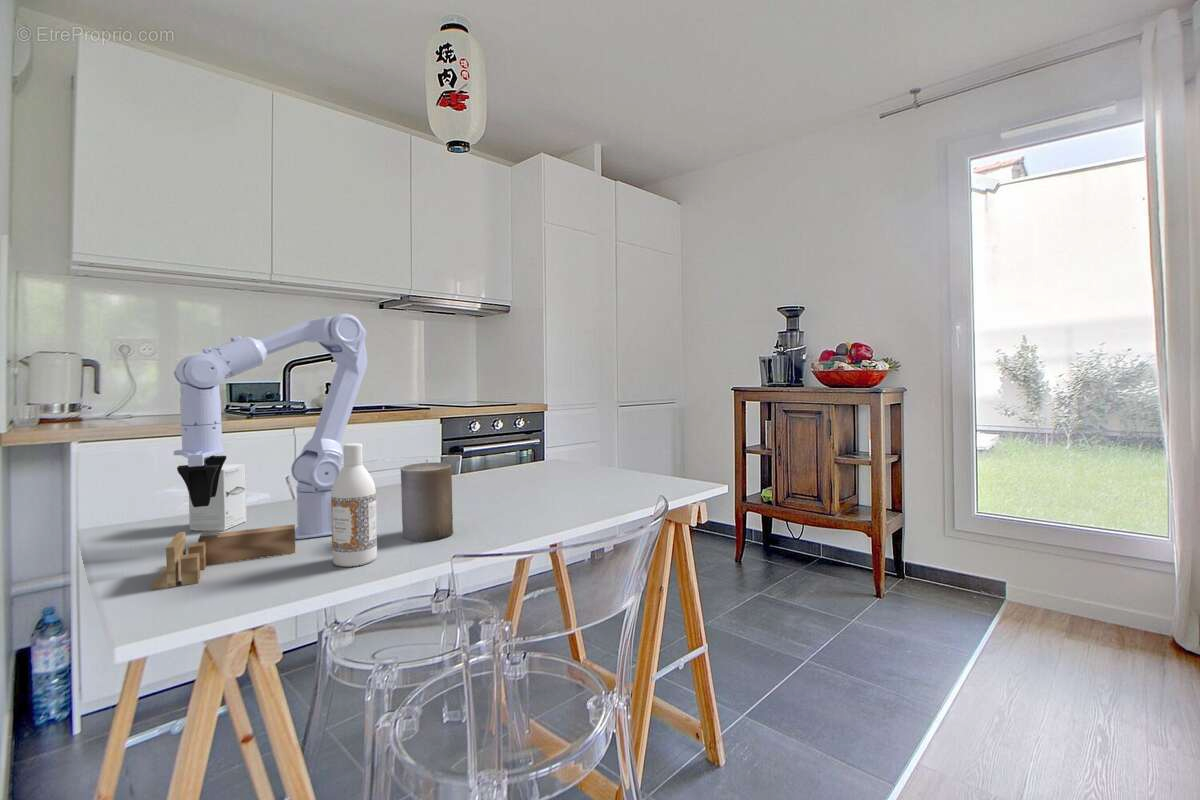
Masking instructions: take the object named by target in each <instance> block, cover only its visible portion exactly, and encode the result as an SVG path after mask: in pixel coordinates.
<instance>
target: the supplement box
mask: <svg viewBox="0 0 1200 800" xmlns="http://www.w3.org/2000/svg"><path fill="white" fill-rule="evenodd" d="M246 482H247V481H246V464H243V463H241V464H240V463H237V464H236V463H235V464H233V463H232V464H231V463H230V464H225V463H224V464H223V466H222V469H221V472H220V476H219V481H218V488H217V493H216V496H215V497H211V499H210V503H209V505H208V506H203V507H193V505H192V502H191V499H190V495H189V494H188V509H189V514H188V515H189V519H188V520H189V531H190V530H194V532H199V531H200V532H206V531H215V530H219V532H224V531H225V532H226V530H228V529H231V528H232V527H236V526H239V525H241V524H243V522H244V523H246V522H247V487H246V485H247V483H246Z"/></svg>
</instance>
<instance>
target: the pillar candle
mask: <svg viewBox="0 0 1200 800" xmlns="http://www.w3.org/2000/svg"><path fill="white" fill-rule="evenodd" d="M428 461H429V460H428V459H426V462H421V463H420V462H419V463H412V464H408V465H403V466H401V467H400V469H399V470H400V487H401V489H400V490H401V520H402V523H401V524H402V537H403V539H406V540H409V541H412V542H430V541H435V540H442V539H444V538H446V537H450V536H452V535H453V534H454V530H453V529H454V526H453V525H454V517H453V516H454V515H453V481H452V479H453V478H452V477H453V476H452V474H453V473H452V464H451V463H448V462H447V463H446V462H434V461H433V462H428Z"/></svg>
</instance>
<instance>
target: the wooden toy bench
mask: <svg viewBox="0 0 1200 800" xmlns="http://www.w3.org/2000/svg"><path fill="white" fill-rule="evenodd" d="M186 541H187V540H186V532H185V531H179V532H177V533H176V534H175V535H174V537H173V538H172V539H171V541H170V542H169V543H168V545H167V546H166V547H165V555H166V558H165V559H166V566H164V567H163V568H162V569H161V571H160V572H159V574H158V575H157V577H156V578H155V580H154V581H153V582H152V584H151V585H150V586H151V587H150V590H151V591H155V590H162V589H168V588H174V587H175V588H176V587H177V586H178V583H179V581H180V580H181V586H186V585H187V586H189V585H194V584H198V583H199V582H200V579H201V571H205V569H206V566H207V565H206V542H198V541H197V542H190V544H189V545H188V546H187V545H186V544H187V543H186ZM186 546H187V547H188V548H186ZM187 549H188V551H187ZM187 552H188V553H187Z"/></svg>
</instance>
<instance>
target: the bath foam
mask: <svg viewBox="0 0 1200 800" xmlns="http://www.w3.org/2000/svg"><path fill="white" fill-rule="evenodd" d="M342 448H343V449H342V452H343V466H342V470H341V471H340V473H339V474H338V476H337V477H336V479H335V481H334V484H333V487H332V492H331V512H332V535H331V543H332V544H331V545H332V546H331V547H332V549H331V550H332V562H333V564H334V565H336V566H338V567H343V568H344V567H346V568H353V567H359V565H360V566H363V565H367V564H369V563H372V562H374V561H375V560H376V559H377V557H378V536H377V535H378V534H377V533H378V532H377V531H378V529H377V525H378V524H377V522H378V521H377V520H378V519H377V492H376V491H377V490H376V485H375V481H374V479H373V478H372V475H371V474H370V473H369V471H368V470H367V469H366V467H365V466H364V465H363V444H362V443H359V442H358V443H356V442H353V443H345V444H343V447H342ZM352 566H353V567H352Z"/></svg>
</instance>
